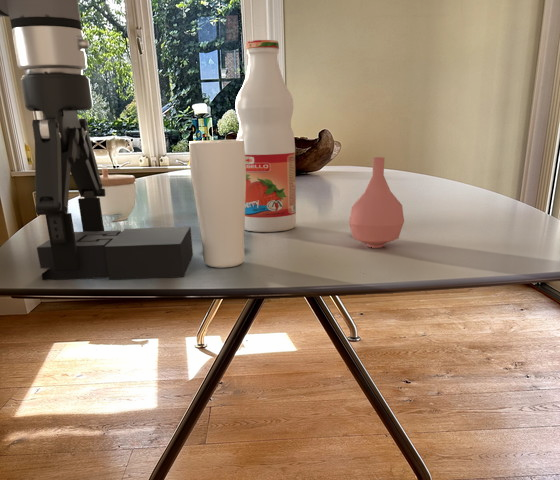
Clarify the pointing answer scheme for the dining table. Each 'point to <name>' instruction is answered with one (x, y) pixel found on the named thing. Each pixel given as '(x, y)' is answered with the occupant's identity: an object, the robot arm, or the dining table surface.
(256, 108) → the fruit juice
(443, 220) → the dining table surface
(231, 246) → the drinking glass
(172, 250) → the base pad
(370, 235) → the pink teardrop shaped piece
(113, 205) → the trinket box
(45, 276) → the dark grey block
